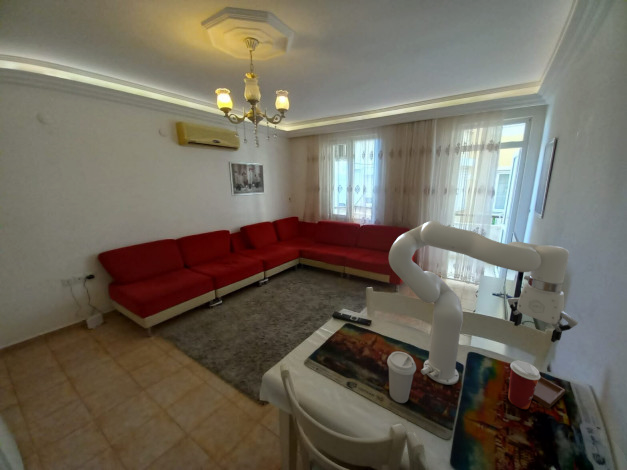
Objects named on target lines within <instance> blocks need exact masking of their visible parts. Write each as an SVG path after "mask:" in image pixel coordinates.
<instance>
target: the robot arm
mask: <svg viewBox="0 0 627 470" xmlns="http://www.w3.org/2000/svg"><path fill="white" fill-rule="evenodd" d="M426 246H429V247H433V248H436V249H440V250H444V251H449V252H453V253H456V254H460V255H465V256H468V257H470V258H472V259H475V260H477V261H481V262H483V263H486V264H489V265H492V266H495V267H499V268H503V269H505V270H506V269H507V270H510V271H514V272H517V273H530V275H524V276H523V280H525V281H527V283H525V284H524V286H523V288H522V289H521V292H520V295H519V297H509V298H507V303H508V304H509V309H510V310H511V311H512V313H513V320H512V322H513V326H514V327H518V326H520V325H521V324H522V320H523V315H525V316H528V317H531V318H533V319H535V320H538V321H541V322H543V323H546V324H549V325H552V326H553V328H554V329H553V330H552V333H551V337H550V341H551V342H552V343H556V342H557V341H560V340H561V338H562V334H563V332H565V331H568V330H571V329H573V328H574V327H576V326H578V325H579V322H578V321H577V320H575V318H573V317H571V316H570V315H569V314H567V312H565V311H564V310H565V293H564V291H562V289H563V285H564V284H563V283H564V280H565V275H566V271H567V266H568V262H569V259H570V251H569V250H568V249H567V248H566V247H565V248H564V247H562V246H556V245H548V244H542V245H541V244H533V243H528V242H523V241H511V242H508V243H503V242H500V241H496V240H493V239H492V238H491V239H490V238H488V237H486V236H484V235H482V234H480V233H478V232H475V231H472V230H467V229H462V228H459V227H454V226H449V225H445V224H443V223H441V222H440V221H438V220H429V221H427V222H424V223H423V224H420V225H418V226H416V227H415V228H413V229H410V230H409V231H406V232H404V233H402V234H401V235H399V236H398V237H397V238H396V240H394V242H393V244H392V245H391V247H390V250H389V252H388V263H389V266H390V268H391V269H392V271H393V272H394V273H395V274H396V275H397V277H399V279H401V281H402V282H403V283H404V284H405V285H406V286H407V288H409V289H410V291H412V292H413V294H414V295H415V296H416V297H417V298H418V299H419V300H420V301H422V302H423V303H427V304H432V303H433V311H432V312H433V313H432V324H431V331H430V342H429V352H428V359H426V360H424V362H423V368H421V369H420V373H421V375H422V376H428V377H429V378H430V379H431V380H433V381H434V382H437V383H439V384H442V385H448V386H450V385H455V384H457V383H458V382H459V379H460V374H459V372H458V370H457V369H456V367H457V358H458V351H459V344H460V337H461V336H460V335H461V330H462V328H463V323H464V311H463V307H462V303H461V299H460V297H459V295H458V294H457V293H456V292H455V291H454V290H453V289H452V288H451V287H450V286H449V285H448V284H447V283H446V281H444V280H443V279H442V278H441V277H440V276H439V275H438V274H436V273H434V272H432V271H430V270H425V271H424V270H423V269H422V268H421V267H420V266H419V265H418V263H415V262H414V261H413V257H414V255H415V253H416V251H417V250H419V249H421V248H423V247H426ZM515 303H517V304H515ZM562 319H563V320H565V322H567V324H563V323H562Z"/></svg>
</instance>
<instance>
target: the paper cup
mask: <svg viewBox="0 0 627 470" xmlns="http://www.w3.org/2000/svg"><path fill="white" fill-rule="evenodd" d="M509 367H510V374H509V377H510V383H508V393H507V395H508V396H507V398H508V400H509V402H510V403H511V404H512V405H513V406H515V407H517V408H519V409H521V410H522V409H523V410H528V409H529V408H530V405H531V402H532V400H533V398H532V397H533V394H534V391H535V388H536V385H537V382H538V379H540V376H541V374H540V371H539V370H538V368H537V367H535V366H534V365H533V364H531V363H529V362H526V361H524V360H514V361H512V362H511V363H510V365H509Z"/></svg>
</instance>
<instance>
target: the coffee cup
mask: <svg viewBox="0 0 627 470" xmlns="http://www.w3.org/2000/svg"><path fill="white" fill-rule="evenodd" d="M386 361H387V362H386V363H387V364H386V365H387V366H388V387H389V388H388V389H389V390H388V391H389V396H390V398H391V399H392V400H393V401H395V402H397V403H400V404H405V403H407V402H408V401H409V399H410V394H411V389H412V383H413V380H414V375H415V372H416V371H417V365H416V362H415V361H414V358H413V357H412V356H411V355H410V354H409V353H407V352H404V351H392V352H391V354H389V355H388V358H387V359H386Z"/></svg>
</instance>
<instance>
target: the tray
mask: <svg viewBox="0 0 627 470" xmlns="http://www.w3.org/2000/svg"><path fill="white" fill-rule="evenodd" d="M506 383H507V384H509V383H510V376H509V377H507V381H506ZM565 393H566V389H564V388H563V387H561V386H559V385H557V384H556V383H554V382H552V381H550V380H548V379H546V378H544V377H543V376H541V375H540V379H538V382H537V385H536V388H535V391H534V394H533V397H532V400H534V401H535V402H537V403H539V404H541V405H542V406H543V407H545V408H546V409H551V408H552V407H553V406H554V405H555V404H556V403H557V402H558V401H559V400H560V399H561V398H562V397H563V396H564V395H565Z"/></svg>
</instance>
